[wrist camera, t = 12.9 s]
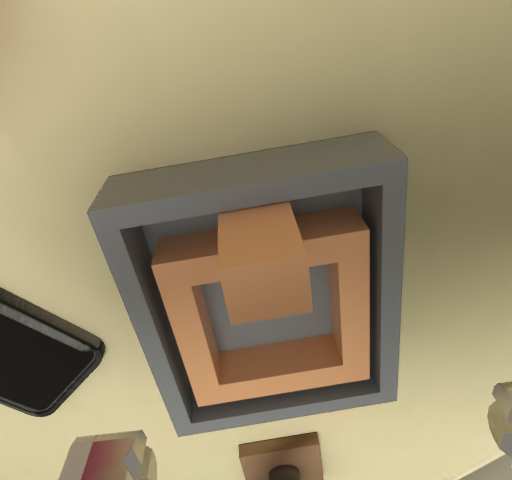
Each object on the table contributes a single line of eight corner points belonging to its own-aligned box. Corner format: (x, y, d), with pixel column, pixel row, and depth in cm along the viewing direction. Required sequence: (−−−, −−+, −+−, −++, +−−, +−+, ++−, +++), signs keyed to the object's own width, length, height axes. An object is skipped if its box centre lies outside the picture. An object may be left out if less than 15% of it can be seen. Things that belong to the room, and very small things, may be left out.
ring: (352, 163, 20) (412, 237, 14) (357, 347, 26) (399, 453, 20) (145, 197, 20) (113, 286, 14) (199, 372, 26) (194, 486, 20)
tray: (376, 131, 20) (407, 157, 16) (375, 352, 27) (396, 400, 24) (108, 176, 20) (87, 212, 16) (182, 384, 27) (178, 436, 24)
